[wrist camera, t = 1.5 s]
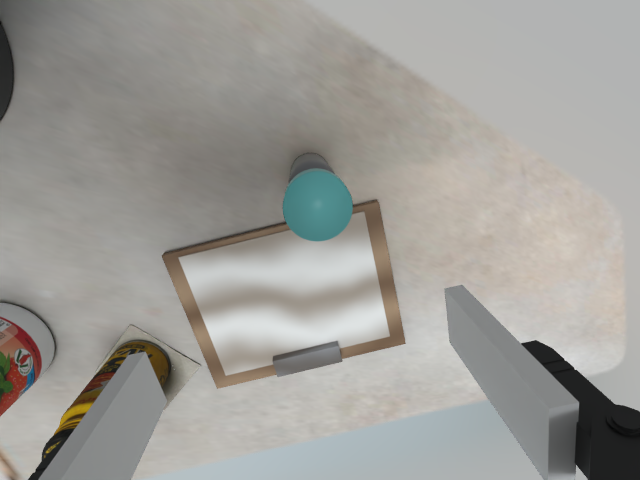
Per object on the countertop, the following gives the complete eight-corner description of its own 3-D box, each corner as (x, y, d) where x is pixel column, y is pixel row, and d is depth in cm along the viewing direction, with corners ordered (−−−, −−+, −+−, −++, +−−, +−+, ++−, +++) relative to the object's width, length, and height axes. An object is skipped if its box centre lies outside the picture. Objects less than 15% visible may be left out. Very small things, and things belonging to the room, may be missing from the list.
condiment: (131, 323, 36) (54, 415, 25) (201, 364, 38) (160, 466, 27) (95, 370, 38) (8, 477, 27) (165, 407, 40) (112, 521, 29)
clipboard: (164, 252, 34) (157, 260, 32) (376, 200, 34) (381, 204, 32) (218, 383, 39) (215, 396, 37) (403, 339, 39) (408, 349, 37)
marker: (284, 157, 32) (274, 183, 19) (325, 147, 32) (344, 165, 18) (295, 197, 33) (293, 248, 20) (335, 188, 33) (358, 232, 20)
